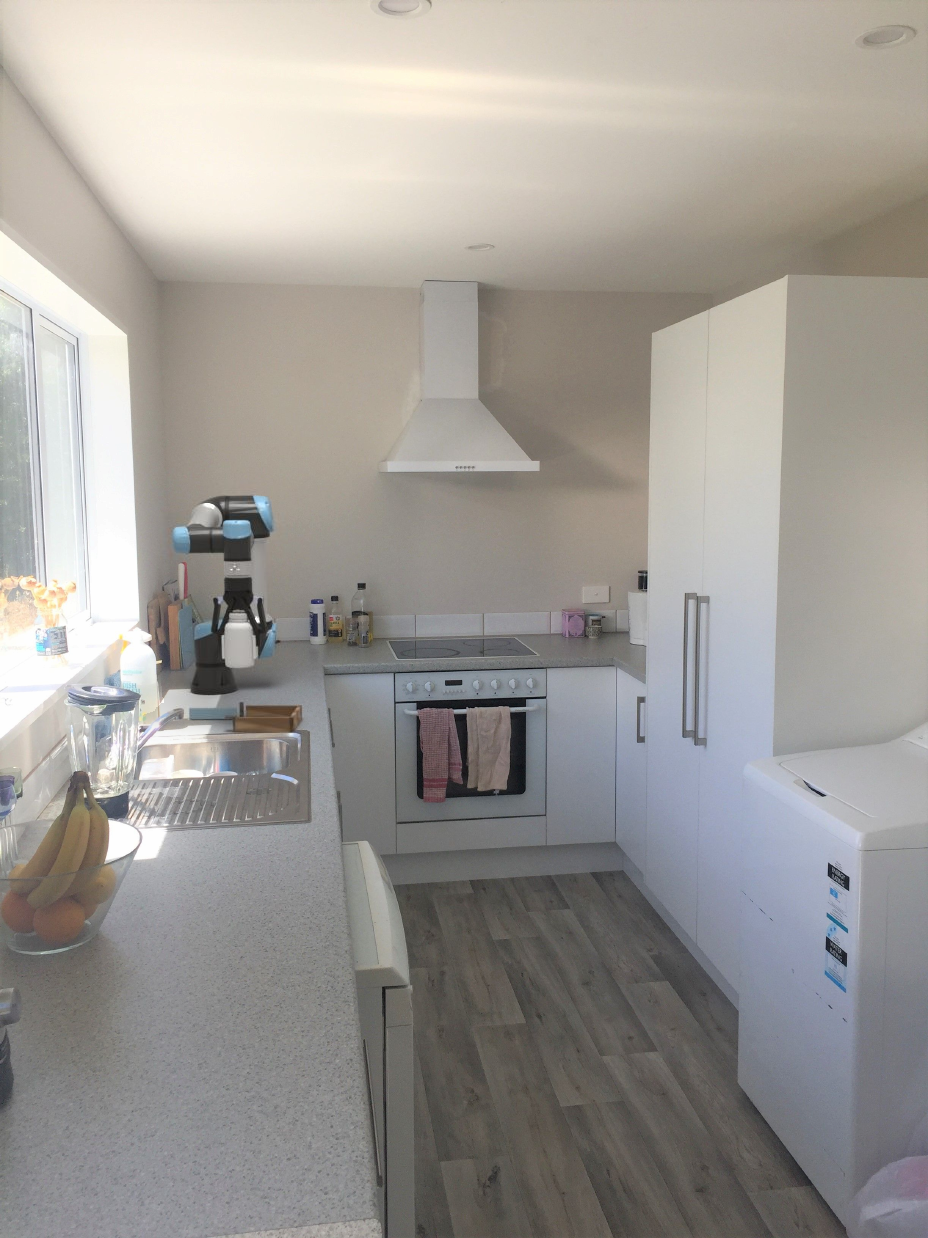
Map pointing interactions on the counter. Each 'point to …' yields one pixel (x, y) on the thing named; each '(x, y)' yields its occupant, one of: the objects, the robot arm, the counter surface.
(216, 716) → the gate
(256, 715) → the tray
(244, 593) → the robot arm
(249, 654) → the pill bottle
